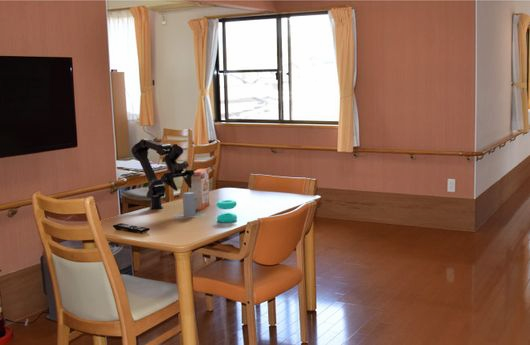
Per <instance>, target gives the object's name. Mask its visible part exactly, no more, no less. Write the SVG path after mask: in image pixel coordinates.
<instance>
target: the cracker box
mask: <svg viewBox="0 0 530 345" xmlns="http://www.w3.org/2000/svg"><path fill="white" fill-rule="evenodd" d="M193 171H194V174H193V175H192V177H191V186H192V188H191V192H193V193H195V209H196V210H203V209H205V208H206V207H208V206H210V189H209V188H210V185H209V178H210V177H209V169H208V168H198V169H196V170H193Z"/></svg>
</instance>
